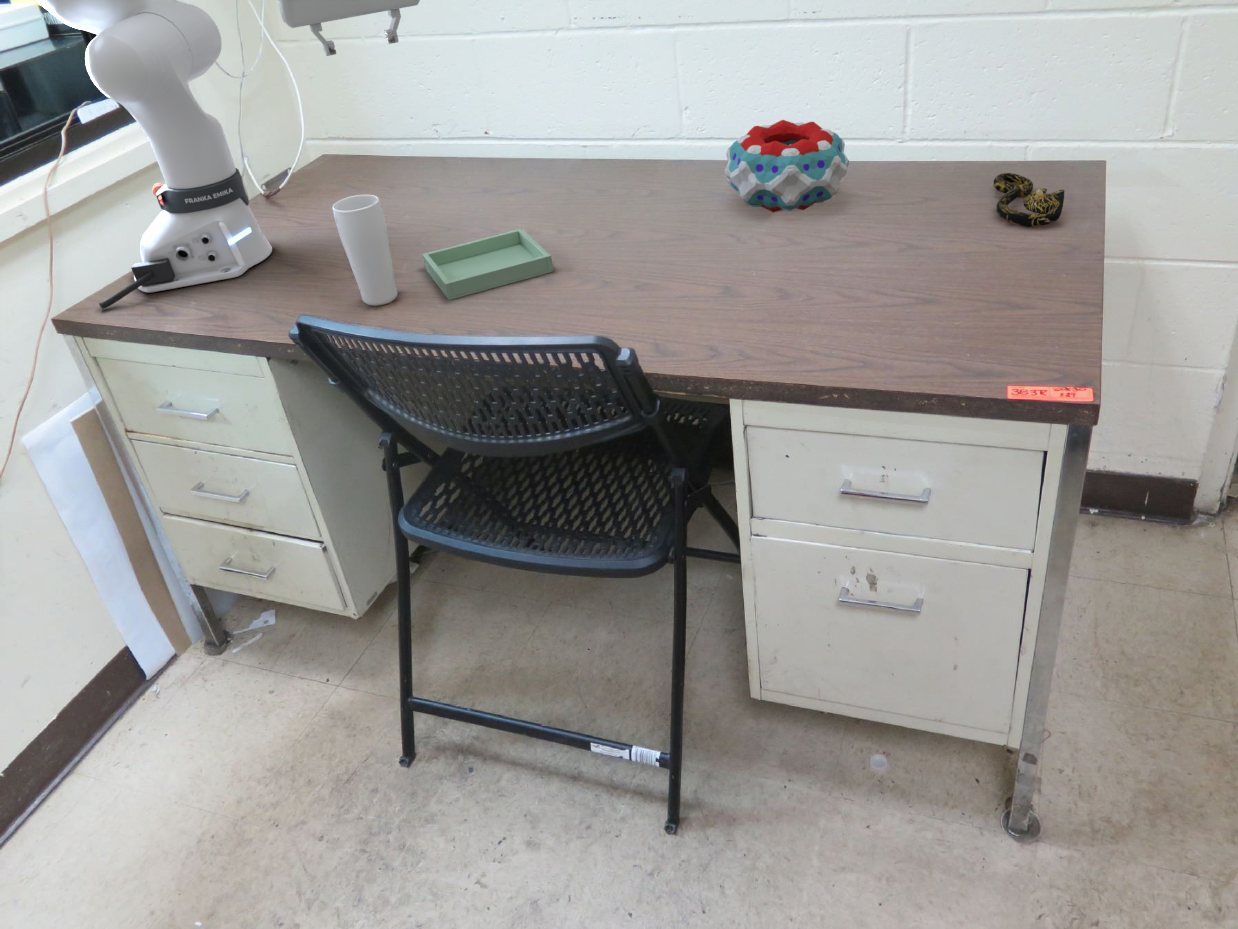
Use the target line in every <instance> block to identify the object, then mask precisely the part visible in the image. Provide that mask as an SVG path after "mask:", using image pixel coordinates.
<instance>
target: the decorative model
mask: <svg viewBox="0 0 1238 929" xmlns="http://www.w3.org/2000/svg"><path fill="white" fill-rule="evenodd" d="M845 145H846V144H845V141H844V139H843V138H842V137H840V136H839V135H838V133H836V132H835V131H832V130H831V129H828V128H823V127H821V126H820V125H819V124H817V123H816V122H814V121H809V122H806V123H805V122H802V121H800V122H799V121H798V122H792V121H789V120H785V119H781V120H779V121H777V122H775V123H773V124H770V125H769V124H764V125H754V126H753V127H751V129H749V130H748V131H747V133H746V134H745V135H743V136H740V137H739V138H737V139H736V140H735V141H734V142H733V143H732V144H731V145H730V146H729V147H728V148H727V150H726V154H725V156H726V159H727V164H726V166H725V168H724V175H725V177H726V178H727V179H726V181H727V183H728V184H729V185H730V186H731V187H732V188H733V189H734V191H736V192H738V194H739V197H740V199H741V200H742V201H743V202H744V203H745V204H747V205H748V206H751V207H752V208H763V209H765V210H767V211H769V212H772V213H776V212H780V211H786V212H794V211H795V210H800V211H805V210H807V209H808V208H811V207H812V206H813V205H815V204H821V203H824V202H826V201H828V200H830V199H832V197H833V196H836V194H837V193H838V192H839V189H840V182H841V181H842V179H843V178H844V177H845V176H846V175H847V174H848V167H849V165H850V160H849V159H848V156H847V155H846V154H845Z"/></svg>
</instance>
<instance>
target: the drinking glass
mask: <svg viewBox="0 0 1238 929" xmlns="http://www.w3.org/2000/svg"><path fill="white" fill-rule="evenodd" d="M331 208H332V212H333V217H334V221H335V225H336V229H337V233H338V235H339V238H340V241H341V244H342V247H343V248H344V249H343V250H344V253H345V255H346V257H347V260H348V262H349V265H350V268H351V270H352V273H353V276H354V280H355V282H356V284H357V287H358V290H359V293H360V297H361V300H362V302H363V303H364V304H365V305H367V306H373V307H376V306H383V305H387V304H390V303H392V302H394V301H395V299H397V297H398V295H399V293H398V288H397V284H396V278H395V277H396V276H395V273H394V266H393V261H392V260H393V259H392V254H391V246H390V241H389V236H388V235H389V234H388V227H387V223H386V218H385V214H384V210H383V208H382V204H381V200H380V198H379V197H378V196H377V195H374V194H357V195H351V196H347V197H344V198H341V199H339V200H337V201H336V202H335V203H334V204H332V207H331Z"/></svg>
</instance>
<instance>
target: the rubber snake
mask: <svg viewBox="0 0 1238 929" xmlns="http://www.w3.org/2000/svg"><path fill="white" fill-rule="evenodd" d="M993 187H994V188H995V189H996V191H997V192H999V193H1002V194H1003V195H1001V197H1000V198H999V199H998V201H997V203H996V212H997V214H998V216H999V217H1000V218H1002V219H1003V220H1005V221H1006V222H1007V223H1011V224H1015V225H1017V226H1021V227H1025V228H1035V227H1043V226H1048V225H1051V224H1053V223H1055V222H1056V221H1058V220H1059V219H1060V217H1061V215H1062V213H1063V212H1062V211H1063V207H1064V201H1065V190H1064V189H1059V190H1056V191H1053V192H1050V193H1047V192H1048V188H1046V187H1045V188H1044V187H1042V188H1039V189H1037V190H1033V189H1034V183H1033V181H1032V180H1031V179H1030V178H1028V177H1025V176H1022V175H1020V174H1016V173H1012V172H1007V173H1006V172H1002V173H999V174H997V175H996V176H995V177H994V179H993ZM1032 191H1033V192H1032ZM1017 198H1024V199H1023V200H1022V204H1023V207H1024V208H1025V210H1027V211H1029V212H1030V213H1029V212H1023V211H1019V210H1017V209H1013V208H1010V206H1009V205H1010V204H1011V203H1012V202H1013V201H1014V200H1016V199H1017ZM1031 212H1032V213H1031Z"/></svg>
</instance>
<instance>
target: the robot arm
mask: <svg viewBox="0 0 1238 929" xmlns="http://www.w3.org/2000/svg"><path fill="white" fill-rule="evenodd" d="M34 1H35V2H36V3H38V4H39V5H40V6H41V7H43V8H44V9H45V10H46V11H48V12H49V13H50V14H51V15H53V16H54V17H55V18H56V19H57V20H59V21H61V22H62V23H63V24H65V25H67V26H69V27H72V28H74V29H77V30H82V31H85V32H89V33H91V34H95V35H96V36H95V37H94V38H93V39H92V40H91V41H90V42H89V43H88V45H87V47H86V49H85V55H84V56H85V57H84V60H85V67H86V71H87V73H88V75H89V77H90V80H91V81H92V82H93V84H94V86H96V88H97V89H98V90H99V91H100V92H101V93H102V94H103V95H104V96H106V97H107V98H109V99H110V100H111V101H114V102H116V103H118V104H120V105H121V106H123V107H124V109H125V110H126V111H127V112H128V113H129V114H130V115H131V116H132V117H133V119H134V120H135V121H136V123H137V124H138V126H139V127H140V128H141V130H142V131H143V133H144V135H145V137H146V139H147V140H148V143H149V144H150V147H151V149H152V152H153V155H154V157H155V160H156V161H157V162H156V163H157V164H158V167H159V169H160V173H161V174H162V177H163V180H164V182H165V183H164V184H163V183H161V182H156V183H154V184H153V185H152V186H153V187H152V193H153V195H154V196H155V197H156V199H157V203H158V205H159V207H160V209H161V211H160V212H159V214H158V215H157V216H156V217H155V219H154V220H153V221H152V223H151V224H150V225H149V226H148V228H147V229H146V230H145V231H144V233H143V234H142V236H141V239H140V244H139V245H140V247H139V252H140V258H141V261H140V262H134V263H133V264H132V265H131V267H130V270H131V271H132V274H133V280H134V282H132V283H131V284H129V285H127V286H126V287H125V288H122V289H121V290H120V291H118V292H116V293H115V294H114V295H113V296H111V297H109V298H107V299H106V300H104V301H101V302H99V307H100V308H101V309H102V310H104V309H107V308H109V307H110V306H112V305H114V304H115V303H117V302H118V301H120V300H122V299H123V298H124V297H126V296H128V295H129V294H131V293H132V292H133V291H135V290H137V289H138V290H139V291H141V292H143V293H146V294H147V293H148V294H149V293H156V292H161V291H166V290H173V289H178V288H183V287H189V286H196V285H200V284H206V283H212V282H217V281H221V280H229V279H233V278H238V277H240V276H242V275H243V274H244V273H245V272H246V271H248V270H249V269H250V268H252V267H253V266H255V265H257V264H259V263H261V262H264V260H266V259H267V258H268V257H269V256H270V255H271V254H272V252H273V246H272V244H271V243H270V242H269V241H268V239H267V237H266V236H265V234H264V233H263V231H262V230H261V227H260V225H259V224H258V223H259V222H258V221H257V219H256V217H255V214H254V213H253V211H252V209H251V206H250V198H249V194H248V190H247V188H246V185H245V184H246V183H245V181H244V179H243V178H244V177H243V175H242V174H241V173H240V170H239V168H237V167H236V165H235V162H234V159H233V156H232V153H231V149H230V146H229V143H228V141H227V138H226V135H225V132H224V129H223V126H222V124H221V123H220V122H219V119H217V118H216V117H215V116H213V115H211V114H209V113H208V112H205V110H204V109H203V108H202V107H201V105H200V104H199V102H198V101H197V100H196V98H195V96H194V94H193V93H192V91H191V88H190V85H189V83H190V82H192V81H194V80H196V79H197V78H199V77H201V76H203V75H205V74H206V73H207V72H208V71H209V70H210V69H211V67H212V66H213V65H214V64H215V62H216V61H217V60H218V58H219V57H220V55H221V52H222V45H223V44H222V42H223V41H222V36H221V33H220V29H219V28H218V26H217V23H216V22H215V21H214V19H213V18H212V17H211V16H210V15H209V13H208V12H206V10H204V9H202V8H200V7H199V6H197V5H194V4H190V3H187V2H183V1H179V0H34ZM420 1H421V0H277V2H278V7H279V8H278V9H279V13H280V16H281V19H282V21H283V23H284V24H285V25H286V26H288V27H289V28H291V29H295V28H301V27H306V26H309V29H310V31H311V33H312V34H313V35H314V36H315V37H316V39H318V41H319V42H320V43H321V44H322V45H321V46H322V48H323V52H324V55H325V57H330V56H335V55H337V50H336V49H335V48H336V45H335V42H334V41H333V40H332V39H331V40H326V38H325V37H324V36H323V35H322V34H321V33H320V32H323V26H322V23H327V22H333V21H338V20H345V19H350V18H355V17H361V16H366V15H371V14H377V13H382V12H387V14H388V16H389V17H390V18H391V21H390V25H389V28H388V29H384V35H385V36H386V37H385V40H386V43H387V44H388V45H391V44H397V43H399V37H398V32H397V31H398V28H399V24H400V22H401V18H402V14H401V10H400V9H404V8H410V7H415V6H418V5H419V4H420Z"/></svg>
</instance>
